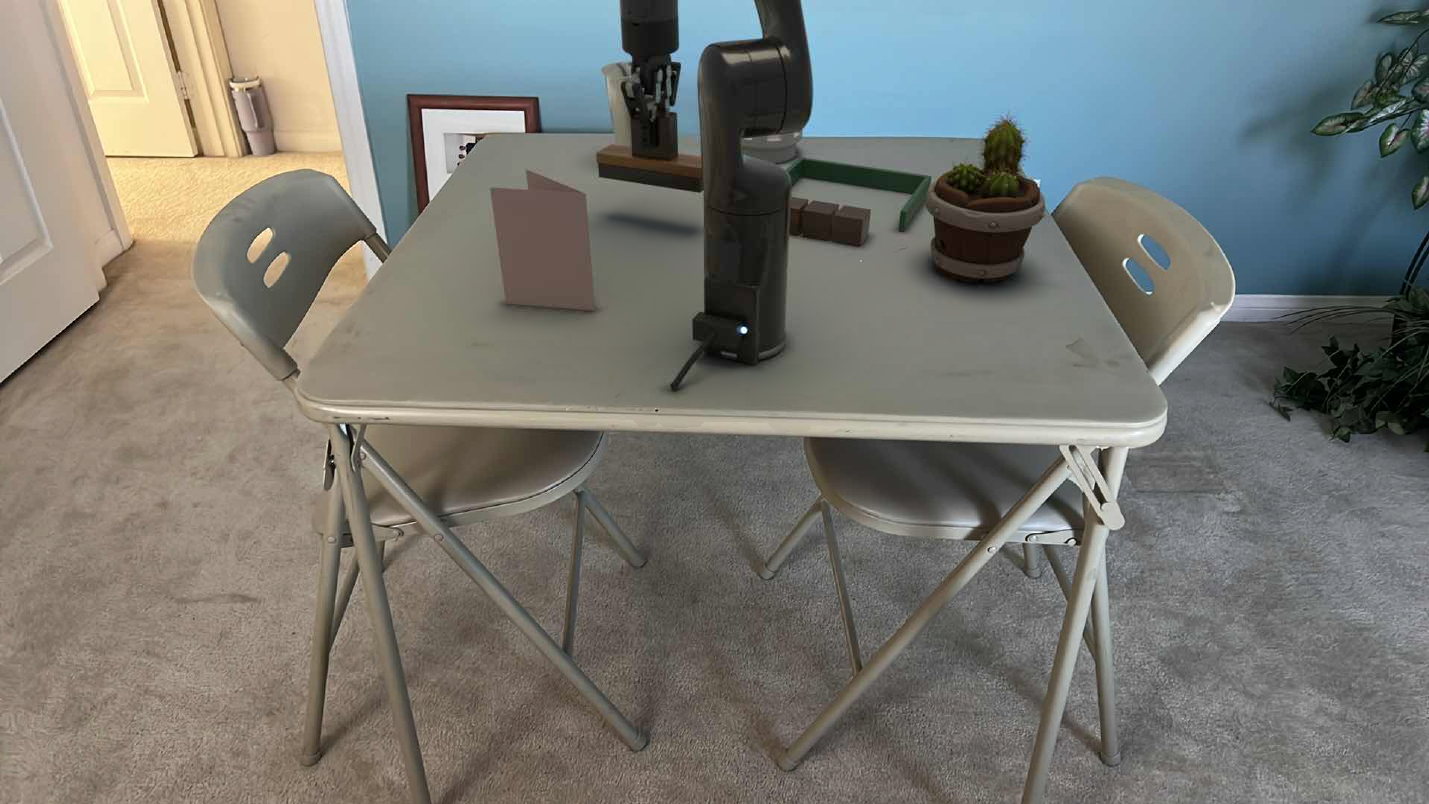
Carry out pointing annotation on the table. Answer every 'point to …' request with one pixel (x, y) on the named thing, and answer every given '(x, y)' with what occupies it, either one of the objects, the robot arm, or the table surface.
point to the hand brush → (653, 159)
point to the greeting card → (544, 244)
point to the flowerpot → (985, 211)
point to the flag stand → (772, 146)
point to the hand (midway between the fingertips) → (654, 144)
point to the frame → (867, 181)
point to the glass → (618, 100)
